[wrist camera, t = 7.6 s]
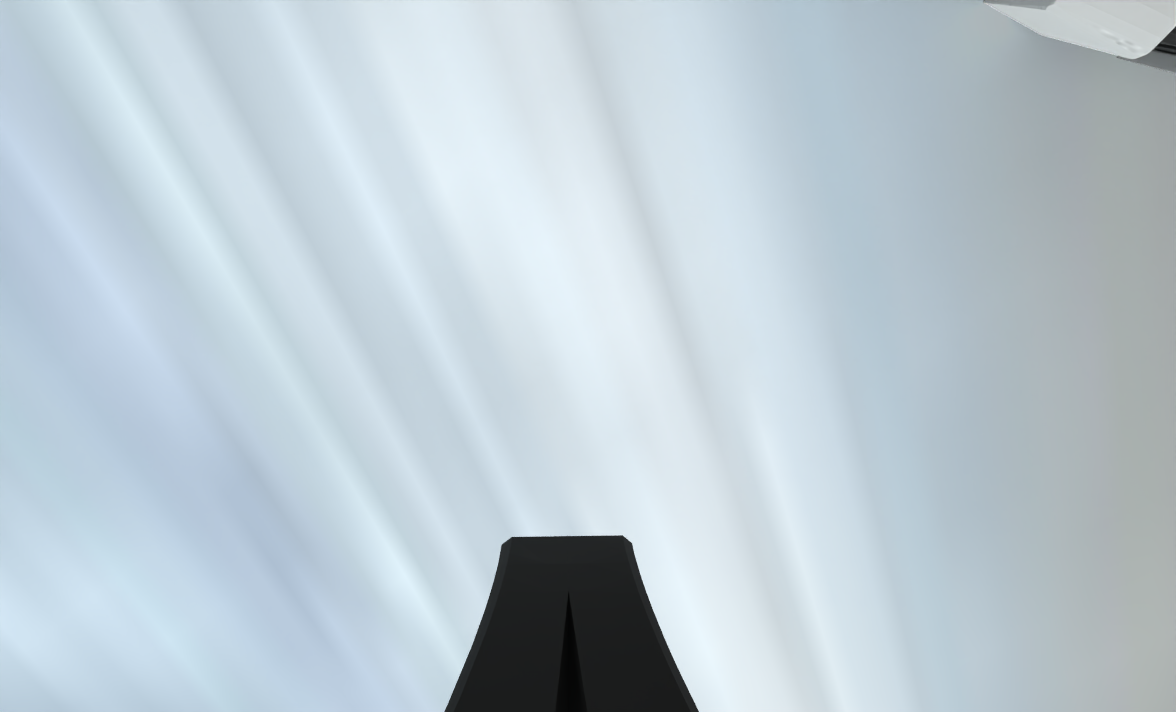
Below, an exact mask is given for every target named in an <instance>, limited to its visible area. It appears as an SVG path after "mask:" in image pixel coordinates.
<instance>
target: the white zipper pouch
mask: <svg viewBox="0 0 1176 712" xmlns="http://www.w3.org/2000/svg"><path fill="white" fill-rule="evenodd" d="M984 3H985V4H987V5H988V6H990V7H992V8H994V9H995V10H997V11H999V12H1000V13H1002V14H1004V15H1006V16H1007V17H1009V18H1011V19H1013V20H1014V21H1016V22H1018V23H1020V24H1022V25H1023V26H1025V27H1027V28H1029V29H1030V30H1032V31H1034V32H1036V33H1038V34H1039V35H1042V36H1046V37H1049V38H1053V39H1057V40H1061V41H1064V42H1068V43H1072V44H1075V45H1079V46H1083V47H1087V48H1090V49H1094V50H1098V51H1102V52H1105V53H1109V54H1113V55H1117V58H1120V59H1123V60H1127V61H1131V62H1134V63H1138V64H1141V65H1145V66H1149V67H1152V68H1156V69H1159V70H1163V71H1166V72H1170V73H1174V74H1176V0H984Z"/></svg>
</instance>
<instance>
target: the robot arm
mask: <svg viewBox="0 0 1176 712" xmlns="http://www.w3.org/2000/svg"><path fill="white" fill-rule="evenodd" d="M445 712H699V711H698V709H697V707H696V705H695V703H694V701H693V699H692V697H691V695H690V693H689V691H688V688H687V686H686V684H685V682H684V680H683V678H682V676H681V674H680V672H679V670H678V668H677V666H676V664H675V661H674V659H673V657H672V655H671V652H670V650H669V648H668V646H667V643H666V641H665V639H664V636H663V634H662V631H661V629H660V626H659V624H658V622H657V619H656V617H655V614H654V612H653V609H652V607H651V604H650V601H649V598H648V596H647V593H646V590H645V587H644V584H643V581H642V579H641V575H640V572H639V569H638V565H637V562H636V559H635V555H634V551H633V546H632V543H631V542H630V541H629V540H627V539H626V538H625V537H624V536H554V537H511V538H510V539H509V540H507V541H506V542H505V543H504V544H502V546H501V552H500V558H499V563H498V567H497V571H496V575H495V579H494V582H493V586H492V589H491V593H490V596H489V599H488V602H487V605H486V608H485V611H484V614H483V617H482V620H481V623H480V625H479V628H478V631H477V634H476V637H475V639H474V642H473V645H472V647H471V650H470V652H469V655H468V657H467V659H466V662H465V664H464V667H463V669H462V671H461V674H460V676H459V679H458V681H457V683H456V686H455V688H454V691H453V693H452V696H451V698H450V700H449V703H448V705H447V707H446V710H445Z"/></svg>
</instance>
